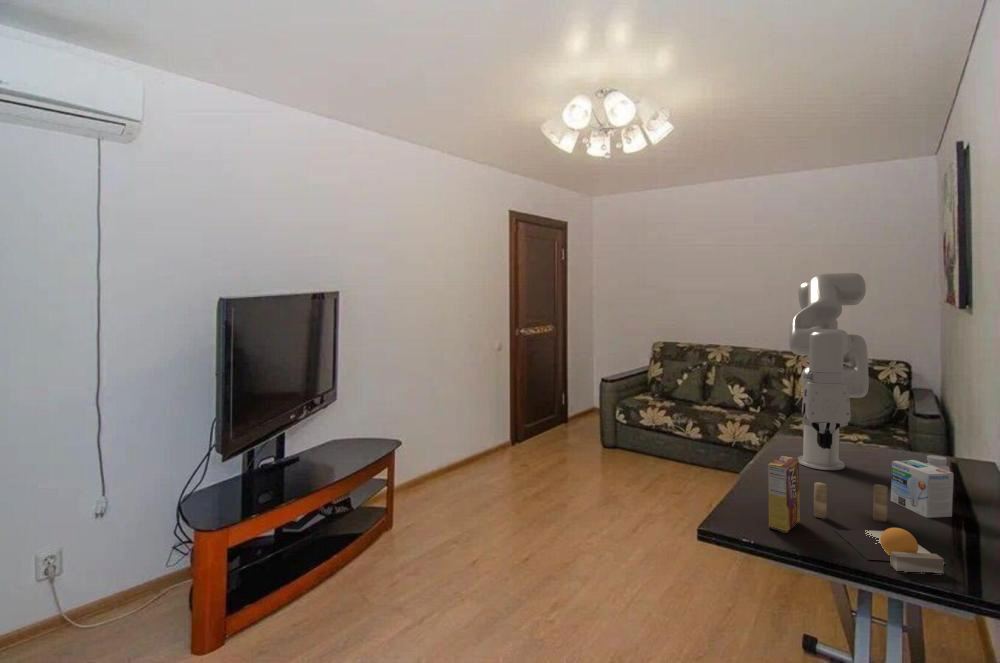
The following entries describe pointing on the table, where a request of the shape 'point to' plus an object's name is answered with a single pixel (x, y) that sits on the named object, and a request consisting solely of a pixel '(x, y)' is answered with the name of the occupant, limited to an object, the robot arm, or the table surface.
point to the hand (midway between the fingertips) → (824, 447)
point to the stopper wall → (916, 562)
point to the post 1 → (820, 500)
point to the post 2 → (880, 503)
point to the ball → (898, 541)
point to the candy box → (783, 493)
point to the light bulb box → (922, 488)
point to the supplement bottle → (937, 462)
